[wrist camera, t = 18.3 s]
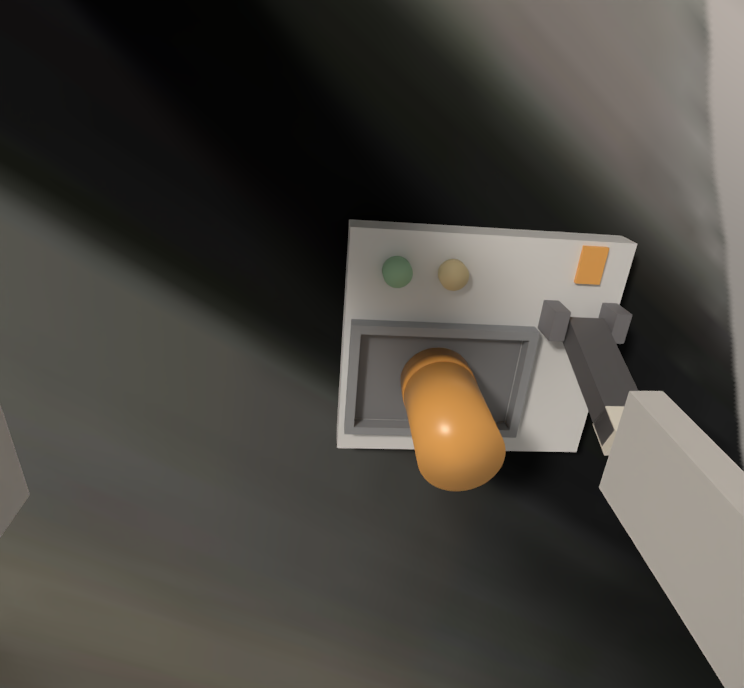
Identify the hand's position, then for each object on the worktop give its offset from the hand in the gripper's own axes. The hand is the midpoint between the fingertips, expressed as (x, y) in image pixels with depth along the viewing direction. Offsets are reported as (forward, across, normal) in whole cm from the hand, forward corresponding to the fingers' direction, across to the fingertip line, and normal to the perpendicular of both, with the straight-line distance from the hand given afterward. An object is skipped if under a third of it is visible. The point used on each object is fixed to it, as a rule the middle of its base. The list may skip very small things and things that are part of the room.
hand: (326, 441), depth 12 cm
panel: (+24, +10, -10) cm, 28 cm away
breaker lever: (+22, +16, -7) cm, 28 cm away
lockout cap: (+22, +7, -12) cm, 26 cm away
